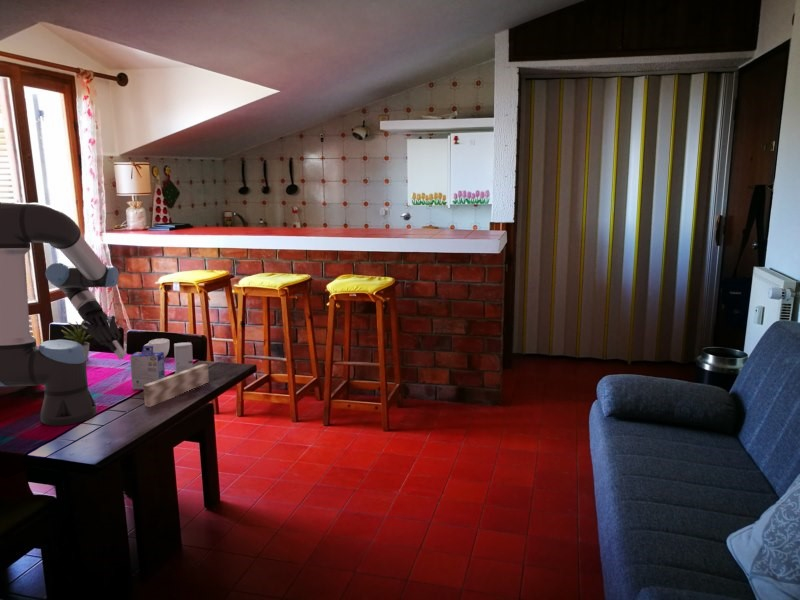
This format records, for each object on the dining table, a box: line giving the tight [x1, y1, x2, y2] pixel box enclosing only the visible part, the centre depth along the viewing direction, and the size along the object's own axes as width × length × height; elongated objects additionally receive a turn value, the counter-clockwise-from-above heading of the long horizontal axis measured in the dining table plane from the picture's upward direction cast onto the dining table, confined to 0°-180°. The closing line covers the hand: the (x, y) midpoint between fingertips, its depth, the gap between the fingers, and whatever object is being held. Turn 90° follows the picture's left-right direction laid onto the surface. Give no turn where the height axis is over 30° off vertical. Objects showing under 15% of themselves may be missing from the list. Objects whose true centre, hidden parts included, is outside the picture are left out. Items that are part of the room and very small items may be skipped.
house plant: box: [60, 319, 93, 360], centre depth 243 cm, size 14×14×16 cm
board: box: [142, 363, 210, 408], centre depth 206 cm, size 26×2×7 cm, turn 152°
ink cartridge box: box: [129, 345, 166, 390], centre depth 211 cm, size 10×6×14 cm, turn 89°
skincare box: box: [173, 341, 194, 374], centre depth 224 cm, size 6×4×12 cm
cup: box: [143, 338, 170, 359], centre depth 247 cm, size 8×10×7 cm
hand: (122, 356), depth 218 cm, fingers closed
